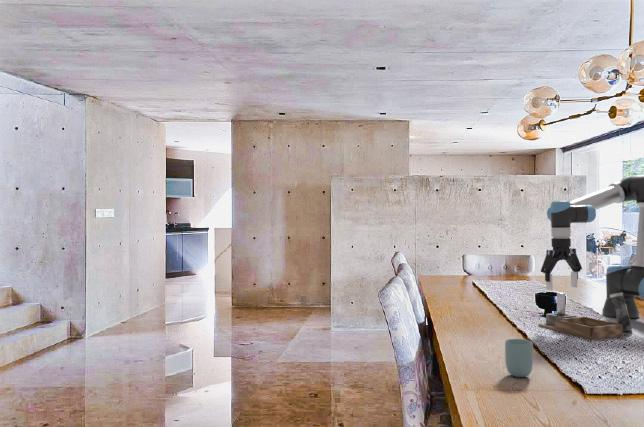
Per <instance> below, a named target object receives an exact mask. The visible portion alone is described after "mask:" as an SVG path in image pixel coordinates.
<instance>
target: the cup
mask: <svg viewBox="0 0 644 427" xmlns="http://www.w3.org/2000/svg"><path fill="white" fill-rule="evenodd" d="M504 361H505V368H506V370H507V373H508V374H509V375H511V376H512V377H516V378H526V377H528V376H530V374H531V373H532V371H533V365H534V364H533V363H534V344H533V341H531V340H528V339H522V338H509V339H505V342H504Z"/></svg>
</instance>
